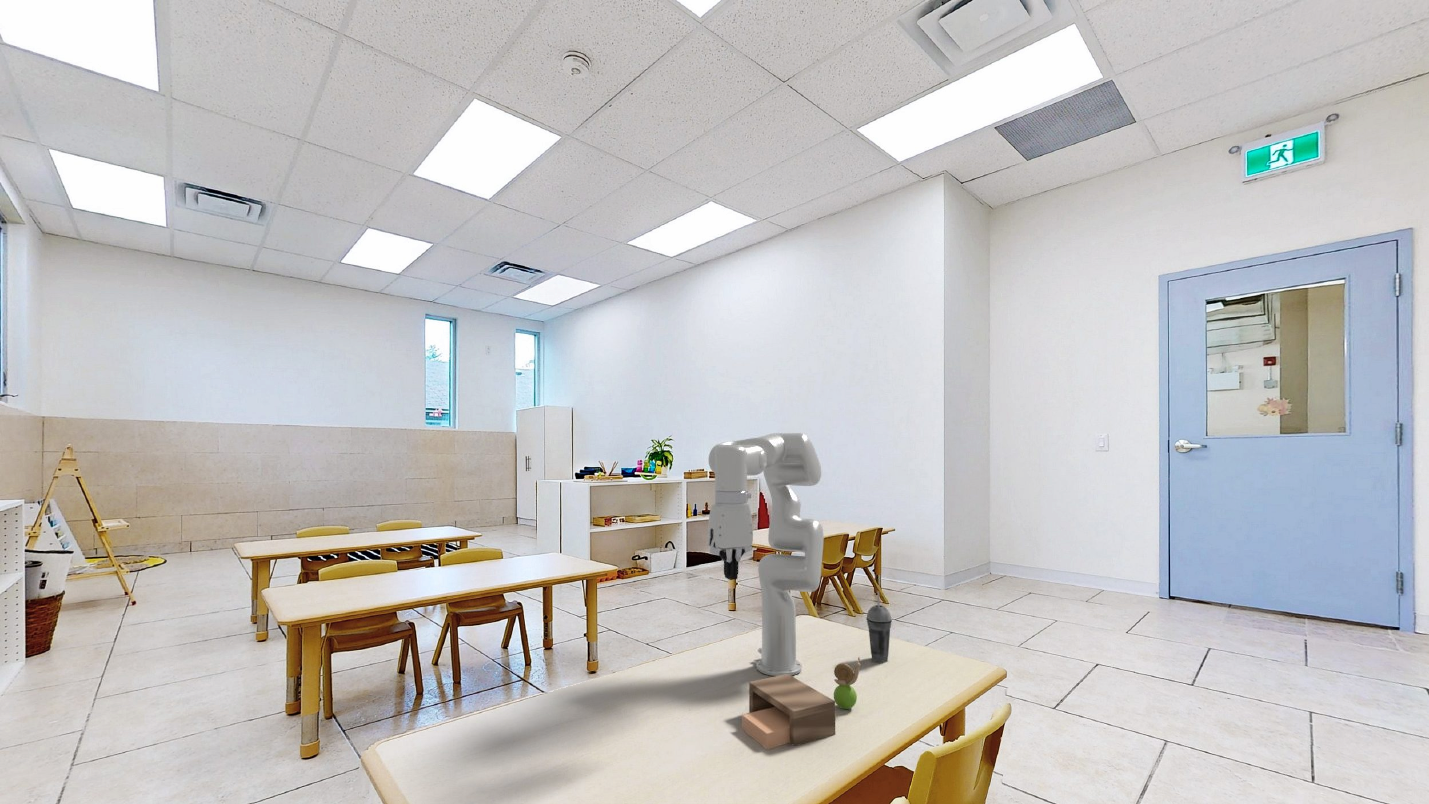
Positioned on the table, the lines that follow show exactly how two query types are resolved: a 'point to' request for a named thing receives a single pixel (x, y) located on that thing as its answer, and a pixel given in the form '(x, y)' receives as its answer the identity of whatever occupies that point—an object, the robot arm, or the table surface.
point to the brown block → (795, 706)
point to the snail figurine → (845, 685)
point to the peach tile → (768, 726)
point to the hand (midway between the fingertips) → (731, 578)
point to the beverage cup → (879, 632)
